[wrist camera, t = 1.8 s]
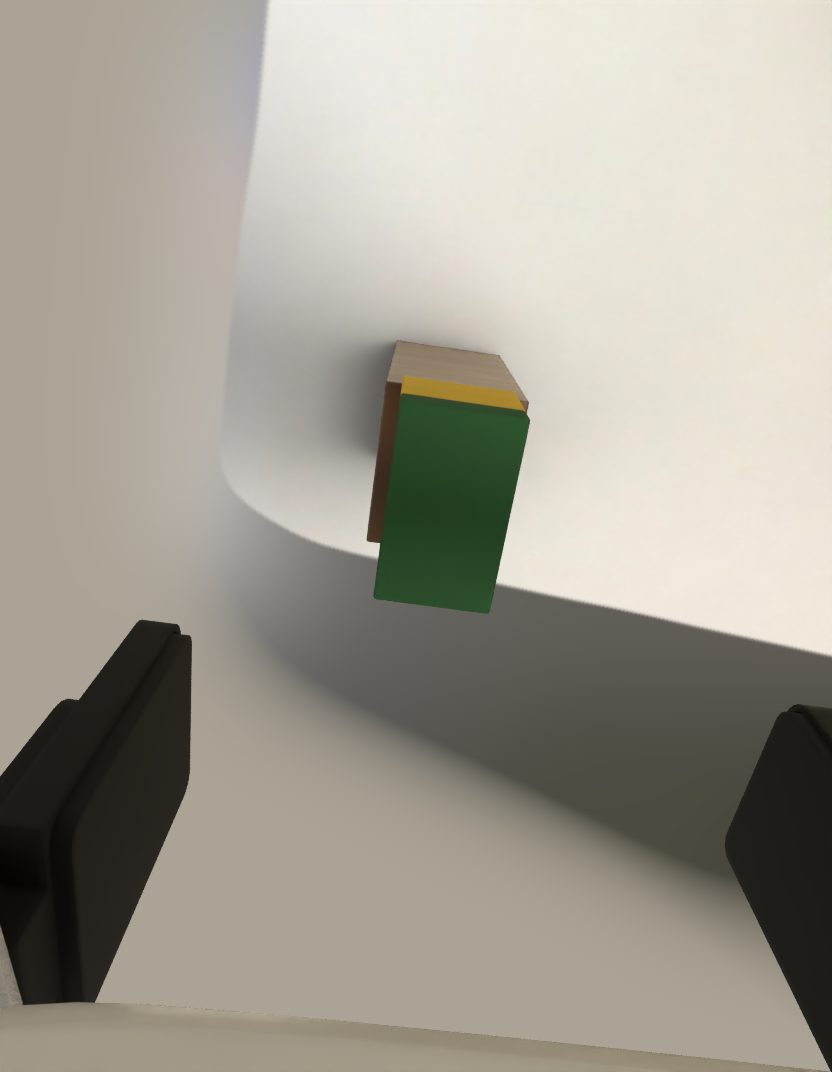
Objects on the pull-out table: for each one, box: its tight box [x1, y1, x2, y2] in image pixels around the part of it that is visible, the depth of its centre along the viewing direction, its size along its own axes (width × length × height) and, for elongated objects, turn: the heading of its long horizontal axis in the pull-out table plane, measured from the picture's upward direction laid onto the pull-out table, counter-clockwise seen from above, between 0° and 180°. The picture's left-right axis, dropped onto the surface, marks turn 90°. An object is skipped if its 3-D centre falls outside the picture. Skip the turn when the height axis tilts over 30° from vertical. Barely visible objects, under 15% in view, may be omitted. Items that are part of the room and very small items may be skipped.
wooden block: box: [367, 341, 529, 543], centre depth 27 cm, size 6×4×9 cm
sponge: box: [374, 376, 530, 614], centre depth 21 cm, size 6×4×4 cm, turn 172°
